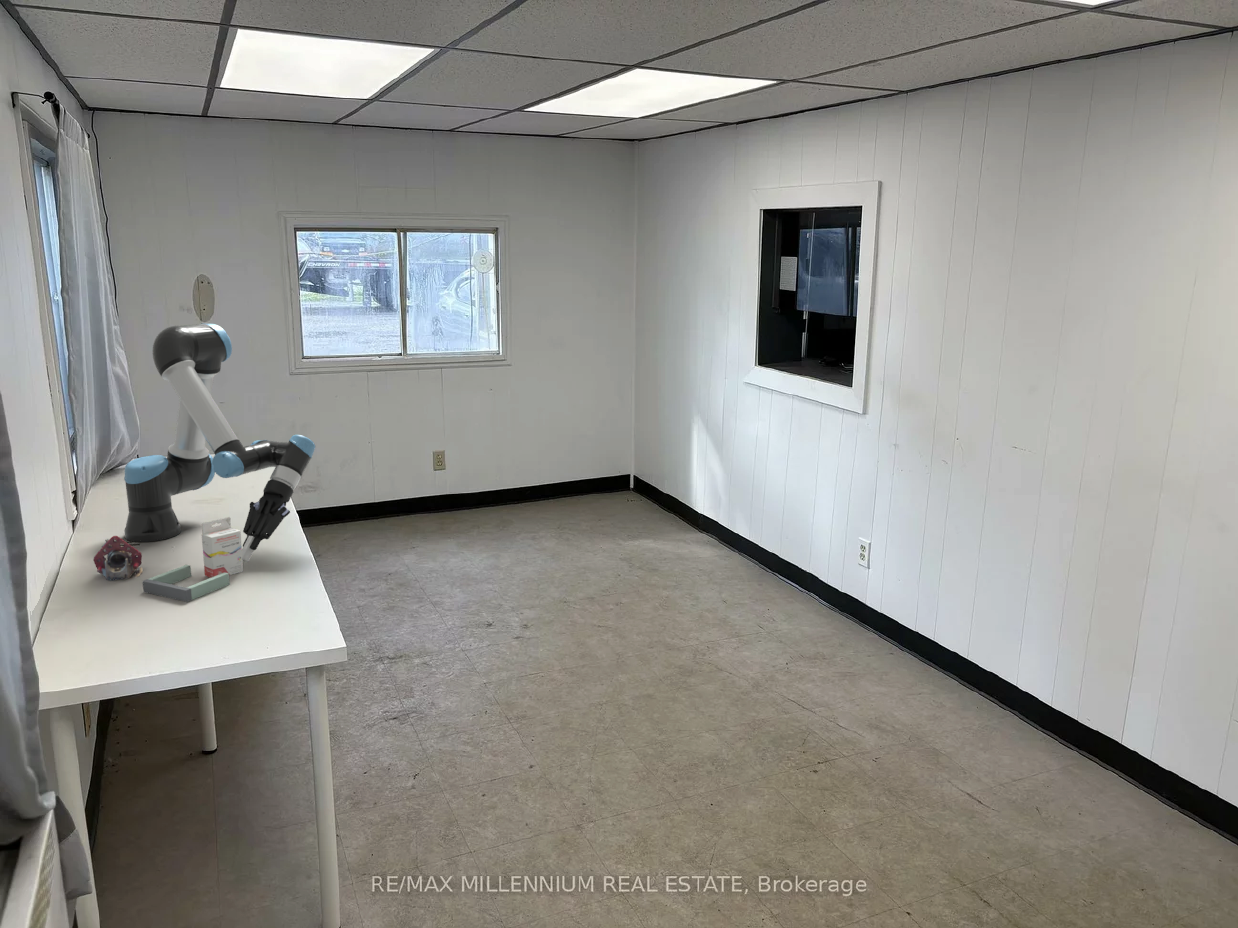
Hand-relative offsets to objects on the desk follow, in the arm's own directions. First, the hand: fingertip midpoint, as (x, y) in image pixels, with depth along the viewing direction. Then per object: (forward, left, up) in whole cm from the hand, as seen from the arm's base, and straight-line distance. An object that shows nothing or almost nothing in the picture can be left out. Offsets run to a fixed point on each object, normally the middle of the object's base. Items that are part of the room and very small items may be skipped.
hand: (243, 559), depth 247 cm
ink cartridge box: (-1, -5, -3) cm, 6 cm away
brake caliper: (-25, -18, -3) cm, 31 cm away
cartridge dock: (-2, -17, -3) cm, 17 cm away
